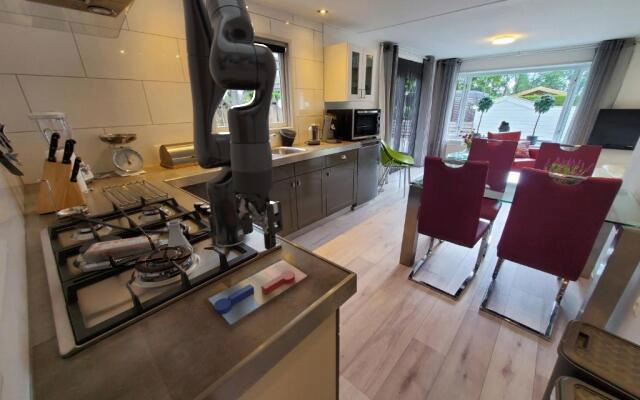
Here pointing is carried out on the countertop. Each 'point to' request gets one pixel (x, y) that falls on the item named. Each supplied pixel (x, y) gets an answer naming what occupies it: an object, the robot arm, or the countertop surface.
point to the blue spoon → (232, 300)
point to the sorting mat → (257, 290)
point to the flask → (176, 235)
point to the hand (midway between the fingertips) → (258, 240)
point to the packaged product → (118, 251)
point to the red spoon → (278, 282)
